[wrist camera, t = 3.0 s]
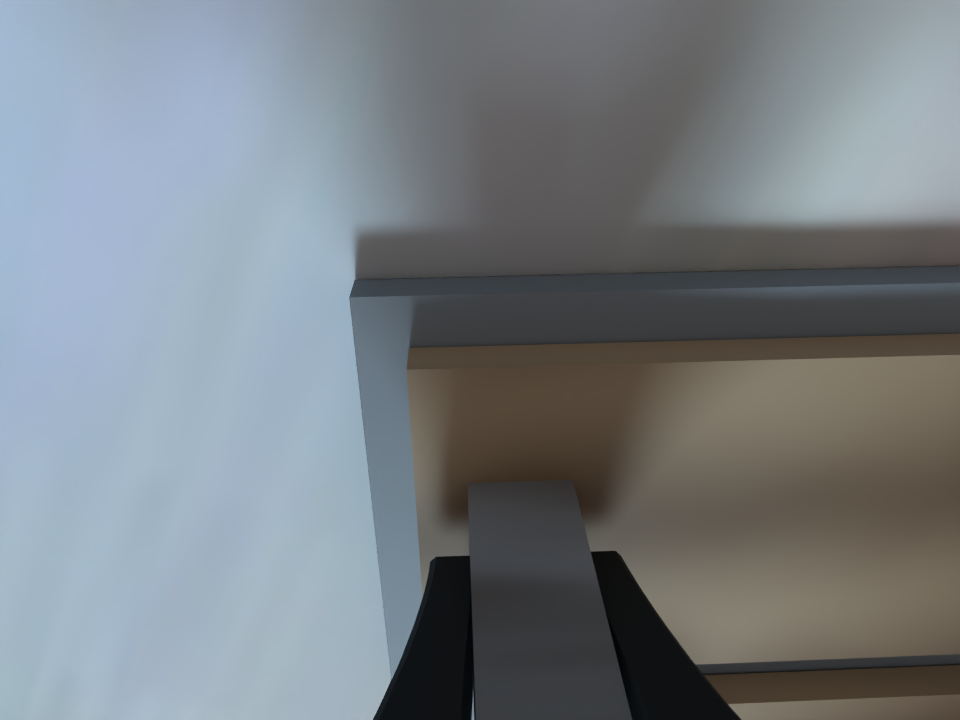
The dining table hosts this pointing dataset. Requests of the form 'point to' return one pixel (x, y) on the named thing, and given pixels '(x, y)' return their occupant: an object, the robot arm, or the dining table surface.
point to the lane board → (603, 319)
